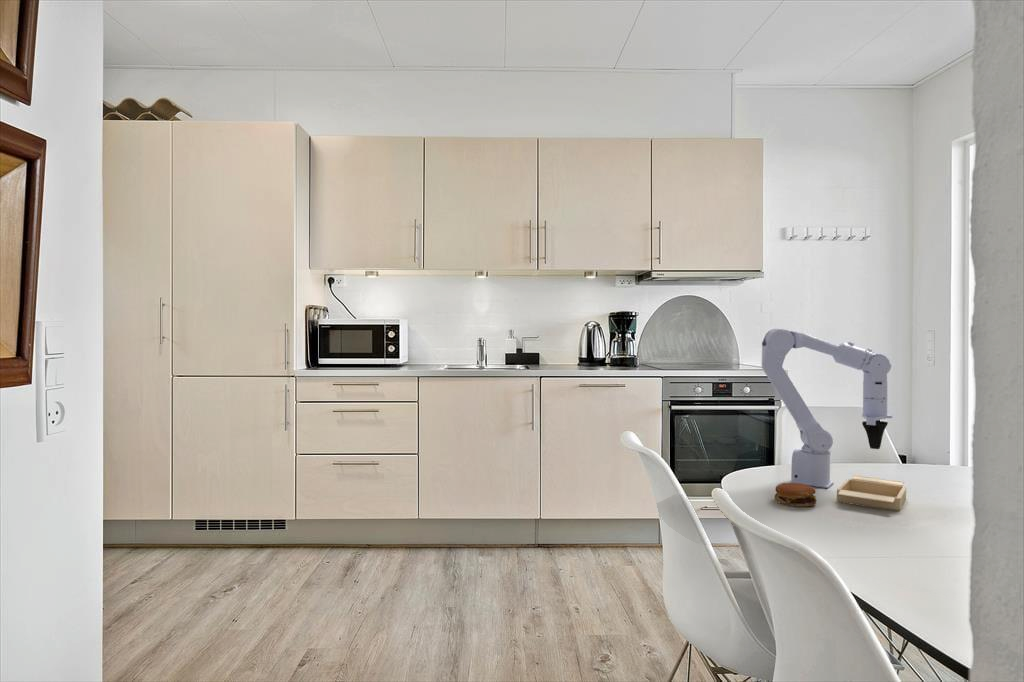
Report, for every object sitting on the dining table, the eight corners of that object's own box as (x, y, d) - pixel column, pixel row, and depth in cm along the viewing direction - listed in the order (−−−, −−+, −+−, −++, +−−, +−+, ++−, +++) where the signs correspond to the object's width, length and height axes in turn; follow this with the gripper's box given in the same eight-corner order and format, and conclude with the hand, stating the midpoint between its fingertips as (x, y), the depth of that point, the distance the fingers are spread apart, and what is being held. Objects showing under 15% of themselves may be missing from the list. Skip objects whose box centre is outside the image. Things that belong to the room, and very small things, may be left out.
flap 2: (840, 491, 162) (837, 495, 159) (840, 489, 162) (837, 494, 159) (894, 499, 155) (892, 503, 152) (894, 497, 155) (892, 502, 152)
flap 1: (902, 486, 167) (904, 483, 169) (902, 485, 167) (904, 481, 169) (851, 479, 174) (853, 476, 176) (851, 478, 174) (853, 475, 176)
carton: (836, 501, 163) (836, 489, 163) (846, 490, 174) (847, 478, 174) (899, 511, 155) (899, 498, 155) (906, 498, 166) (906, 486, 166)
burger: (769, 497, 167) (770, 478, 167) (807, 498, 166) (808, 480, 166) (781, 508, 157) (782, 489, 157) (822, 509, 156) (822, 490, 156)
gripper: (888, 401, 169) (888, 454, 169) (895, 396, 180) (895, 445, 181) (857, 400, 173) (857, 451, 173) (866, 394, 184) (866, 443, 185)
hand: (874, 448), depth 177 cm, fingers closed
